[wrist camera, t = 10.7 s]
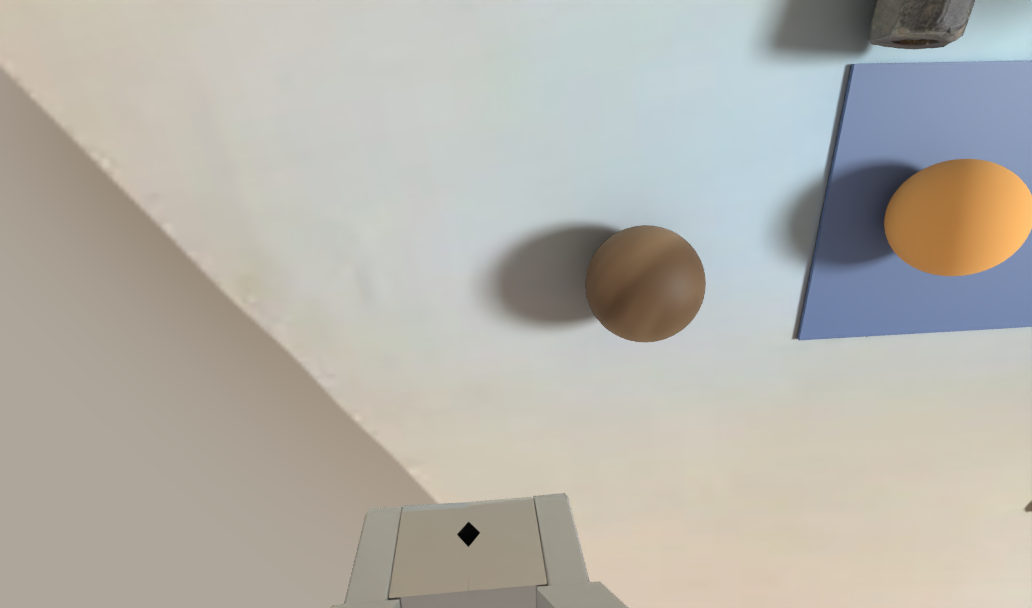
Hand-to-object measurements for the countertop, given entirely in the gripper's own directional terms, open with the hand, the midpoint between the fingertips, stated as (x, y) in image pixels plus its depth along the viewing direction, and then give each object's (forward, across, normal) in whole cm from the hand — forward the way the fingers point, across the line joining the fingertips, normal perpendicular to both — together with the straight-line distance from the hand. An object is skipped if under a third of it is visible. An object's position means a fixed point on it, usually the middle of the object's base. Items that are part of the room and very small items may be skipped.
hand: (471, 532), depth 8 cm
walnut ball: (+16, -8, +2) cm, 18 cm away
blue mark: (+19, -25, 0) cm, 31 cm away
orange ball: (+16, -23, 0) cm, 28 cm away
